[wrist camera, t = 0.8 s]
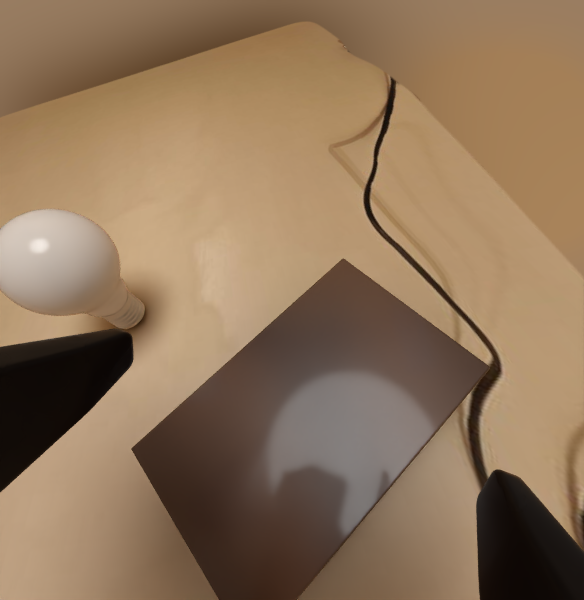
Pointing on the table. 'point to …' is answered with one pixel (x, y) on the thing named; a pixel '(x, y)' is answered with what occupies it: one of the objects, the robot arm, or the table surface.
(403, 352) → the shelf
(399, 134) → the table surface
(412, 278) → the table surface
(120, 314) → the lightbulb
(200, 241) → the table surface
